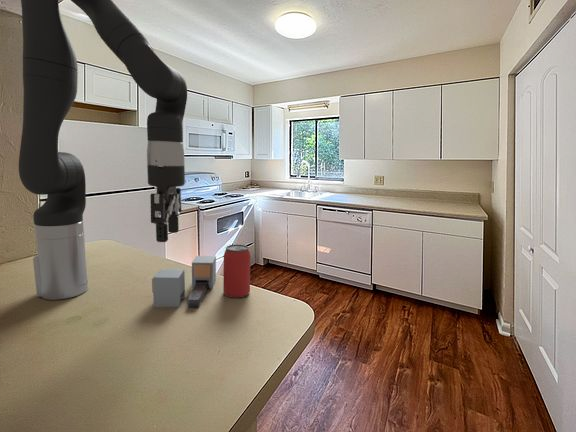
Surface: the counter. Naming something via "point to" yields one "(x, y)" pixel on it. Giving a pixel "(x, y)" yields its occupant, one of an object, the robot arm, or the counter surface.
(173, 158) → the robot arm
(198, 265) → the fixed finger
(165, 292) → the grey block
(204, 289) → the rail
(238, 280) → the beer can
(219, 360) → the counter surface
